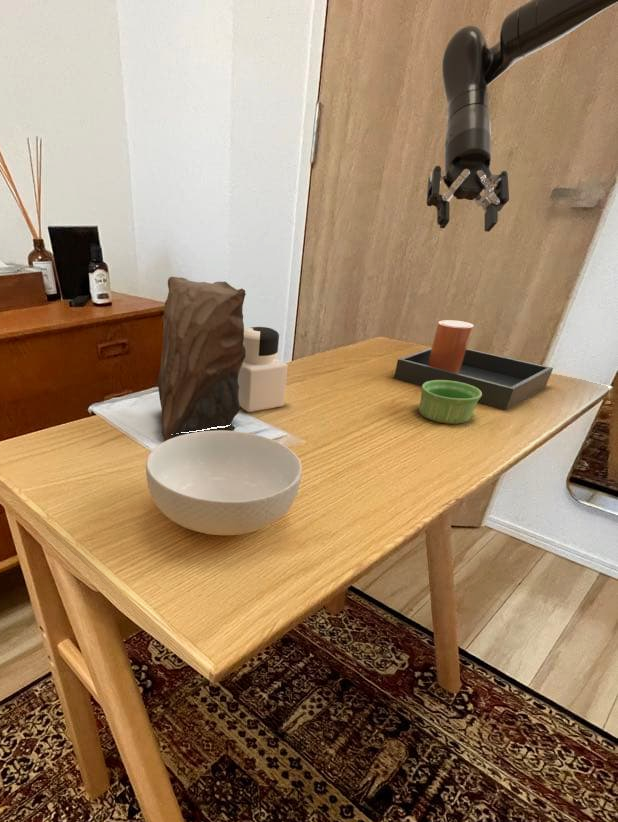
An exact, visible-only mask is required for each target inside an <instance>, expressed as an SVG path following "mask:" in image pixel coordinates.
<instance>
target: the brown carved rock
mask: <svg viewBox="0 0 618 822" xmlns="http://www.w3.org/2000/svg"><path fill="white" fill-rule="evenodd" d="M167 288H168V293H167V297H166V300H165V301H164V310H163V316H162V327H163V331H162V348H161V354H160V355H161V356H160V368H159V373H158V378H157V389H158V395H159V403H160V407H161V429H162V430H161V433H162V436H163V442H165V441H167V440H169V439H171V438H174V437H177V436H181V435H185V434H189V433H195V432H189V431H196V430H202V429H207V428H211V427H217V426H226V425H230V424H231V425H230V426H228V427H225V428H217V429H210V430H204V431H218V430H225V431H235V430H236V427H235V426H234V425H233V421H234V419H235V417H236V416H237V415H238V414H239V413H240V411H241V407H240V404H239V384H238V376H239V372H240V369H241V366H242V363H243V361H244V359H245V357H246V356H245V354H246V351H245V347H244V345H243V341H244V330H245V324H244V313H243V308H244V307H243V306H244V301H245V297H246V290H245V289H244V288H243V287H242V288H238V289H236V288H235V287H234V286H231V285H230V284H229V283H228V282H227V281H214V282H213V283H212V282H211V283H210V282H207V281H206V282H205V281H200V282H199V281H194V280H193V281H192V280H189V279H187V278H185V277H178V276H170V277H168V279H167ZM181 432H189V433H181ZM197 432H202V431H197ZM176 433H179V434H176ZM171 434H173V435H171Z"/></svg>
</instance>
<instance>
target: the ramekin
mask: <svg viewBox="0 0 618 822" xmlns="http://www.w3.org/2000/svg"><path fill="white" fill-rule="evenodd" d="M481 396H482V392H481V391H480V390H479V389H478V388H476V387H474V386H472V385H469V384H466V383H462V382H457V381H450V380H433V381H428V382H425V383H424V384H423V385H422V386H421V396H420V402H419V406H418V411H419V413H420V415H421V416H422V417H424V418H425V419H427V420H430V421H433V422H437V423H442V424H452V425H453V424H454V425H455V424H463V423H466V422H468V421H469V420H471V418H472V416H473V414H474V411H475V410H476V407H477V404H478V403H479V402H478V400H479V399H480V398H481Z"/></svg>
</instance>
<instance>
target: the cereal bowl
mask: <svg viewBox="0 0 618 822" xmlns="http://www.w3.org/2000/svg"><path fill="white" fill-rule="evenodd" d="M302 473H303V467H302V463H301V460H300V458H299V456H297V454H296V453H295V452H294V451H293V450H291V448H289V447H288V446H286V445H284V444H283V443H281V442H279V441H277V440H275V439H273V438H270V437H267V436H263V435H260V434H256V433H251V432H245V431H238V430H233V431H225V430H218V431H202V432H195V433H189V434H185V435H181V436H177V437H174V438H171V439H169V440H167V441H162V442H161V443H159V444H158V445H156V446H155V447H154V448H153V449H152V450H151V451H150V452H149V454H148V456H147V458H146V461H145V475H146V482H147V487H148V489H149V490H148V492H149V493H150V497H151V499H152V501H153V503H154V504H155V505H156V508H158V509H159V511H160V512H162V514H163V515H165V517H167V518H168V519H170V520H171V521H172V522H174V523H176V524H177V525H178V526H181V527H183V528H186V529H188V530H190V531H194V532H197V533H201V534H207V535H216V536H235V535H236V536H237V535H238V536H239V535H244V534H245V535H246V534H249V533H253V532H256V531H260V530H263V529H264V528H265V529H266V528H268V527H269V526H271V525H273V524H274V523H276V522H278V520H280V519H282V517H284V516H285V515H286V514H287V512H288V511H290V509H291V507H293V504H294V502H295V501H296V498H297V496H298V493H299V490H300V485H301V482H302V477H303V475H302Z"/></svg>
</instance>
